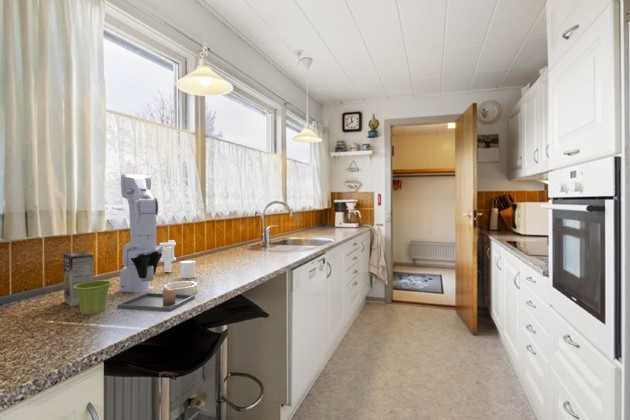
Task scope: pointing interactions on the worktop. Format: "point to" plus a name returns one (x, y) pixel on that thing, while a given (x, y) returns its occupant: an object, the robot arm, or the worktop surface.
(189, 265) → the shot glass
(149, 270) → the grey rounded cylinder
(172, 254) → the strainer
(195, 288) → the bowl
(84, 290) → the plant pot
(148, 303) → the tray
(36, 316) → the worktop surface
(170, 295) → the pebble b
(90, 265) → the coffee box
